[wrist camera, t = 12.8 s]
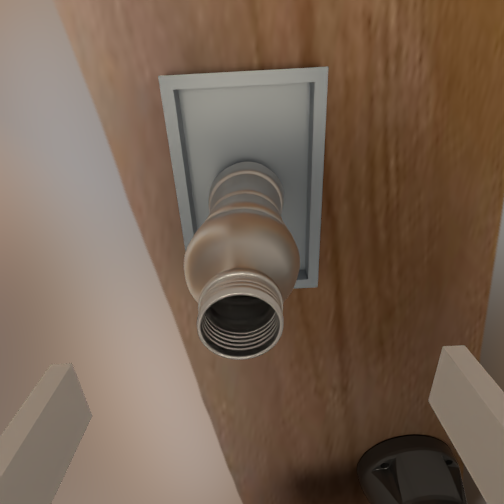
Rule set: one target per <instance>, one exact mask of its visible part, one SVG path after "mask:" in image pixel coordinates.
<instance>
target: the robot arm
mask: <svg viewBox="0 0 504 504" xmlns="http://www.w3.org/2000/svg"><path fill="white" fill-rule="evenodd" d="M428 401H429V403H430V405H431V407H432V408H433V410H434V412H435V414H436V415H437V417H438V419H439V421H440V422H441V424H442V426H443V428H444V429H445V431H446V433H447V435H448V436H449V438H450V440H451V442H452V443H453V445H454V447H455V449H456V450H457V452H458V454H459V456H460V457H461V459H462V461H463V463H464V464H465V466H466V468H467V470H468V471H469V473H470V475H471V477H472V478H473V480H474V482H475V484H476V485H477V487H478V489H479V491H480V492H481V494H482V496H483V498H484V499H485V501H486V503H487V504H504V392H503V391H502V390H501V388H500V387H499V386H498V385H497V384H496V382H495V381H494V380H493V379H492V378H491V376H489V374H488V373H487V372H486V371H485V369H484V368H483V367H482V366H481V364H480V363H479V362H478V361H477V360H476V358H475V357H474V356H473V355H472V354H471V352H470V351H469V350H468V349H467V348H466V346H465V345H462V346H443V347H442V351H441V355H440V359H439V362H438V366H437V370H436V374H435V377H434V381H433V385H432V389H431V392H430V396H429V400H428ZM91 417H92V414H91V411H90V409H89V406H88V403H87V401H86V398H85V396H84V393H83V391H82V388H81V385H80V383H79V380H78V377H77V375H76V372H75V370H74V367H73V365H72V363H71V364H51V365H50V366H49V368H48V369H47V370H46V372H45V373H44V375H43V376H42V378H41V379H40V380H39V382H38V383H37V385H36V386H35V388H34V389H33V390H32V392H31V394H30V395H29V396H28V398H27V399H26V400H25V402H24V403H23V405H22V406H21V408H20V409H19V410H18V412H17V413H16V415H15V416H14V418H13V419H12V420H11V422H10V423H9V425H8V426H7V428H6V429H5V430H4V432H3V433H2V435H1V436H0V504H51V503H52V501H53V499H54V497H55V495H56V492H57V490H58V488H59V486H60V484H61V482H62V480H63V477H64V475H65V473H66V471H67V469H68V467H69V465H70V462H71V460H72V458H73V456H74V454H75V452H76V449H77V447H78V445H79V443H80V441H81V439H82V437H83V435H84V432H85V430H86V428H87V426H88V424H89V422H90V420H91ZM357 474H358V477H359V481H360V485H361V488H362V490H363V492H364V494H365V495H366V497H367V499H368V500H369V502H370V504H467V500H466V496H465V491H464V487H463V482H462V477H461V473H460V468H459V465H458V463H457V461H456V459H455V457H454V455H453V453H452V452H451V450H450V448H449V447H448V446H447V445H446V444H445V443H444V442H442V441H440V440H438V439H435V438H432V437H427V436H404V437H399V438H394V439H391V440H388V441H385V442H383V443H381V444H379V445H377V446H375V447H373V448H372V449H370V450H369V451H368V452H367V453H366V454H365V455H364V456H363V457H362V458H361V460H360V461H359V463H358V467H357Z"/></svg>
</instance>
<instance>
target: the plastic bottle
mask: <svg viewBox="0 0 504 504" xmlns="http://www.w3.org/2000/svg"><path fill="white" fill-rule="evenodd" d="M208 201H209V212H210V213H209V216H208V217H207V219H206V221H205V222H204V223H203V224H202V225H201V227H200V228H199V229H198V230H197V231H196V233H195V234H194V236H193V238H192V240H191V241H190V243H189V245H188V247H187V250H186V253H185V256H184V272H185V278H186V283H187V286H188V288H189V291H190V293H191V294H192V296H193V297H194V299H195V300H196V301H197V302H198V317H197V331H198V335H199V338H200V340H201V341H202V343H203V344H204V346H206V347H207V348H208V349H209V350H210V351H212V352H213V353H215V354H217V355H219V356H221V357H224V358H229V359H237V360H240V359H249V358H254V357H257V356H260V355H262V354H264V353H266V352H267V351H269V350H270V349H271V348H272V347H274V346H275V344H276V343H277V342H278V341H279V339H280V337H281V335H282V331H283V313H282V312H283V302H284V301H285V300H286V299H287V298H288V296H289V295H290V294H291V292H292V290H293V288H294V286H295V283H296V280H297V277H298V273H299V269H300V256H299V251H298V248H297V245H296V243H295V241H294V238H293V236H292V234H291V232H290V231H289V230H288V228H287V227H286V225H285V224H284V222H283V220H282V217H281V213H282V208H283V203H284V192H283V187H282V185H281V182H280V180H279V179H278V177H277V176H276V175H275V174H274V173H273V172H272V171H271V170H270V169H268V168H267V167H265V166H263V165H262V164H259V163H256V162H240V163H236V164H234V165H232V166H230V167H228V168H226V169H225V170H223V171H222V172H221V173H220V174H219V175H218V176H217V177H216V178H215V180H214V182H213V183H212V185H211V188H210V191H209V199H208Z"/></svg>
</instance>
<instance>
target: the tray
mask: <svg viewBox="0 0 504 504" xmlns="http://www.w3.org/2000/svg"><path fill="white" fill-rule="evenodd" d="M158 78H159V85H160V91H161V98H162V104H163V110H164V117H165V123H166V130H167V136H168V142H169V149H170V155H171V162H172V168H173V174H174V181H175V187H176V194H177V200H178V206H179V213H180V219H181V226H182V232H183V238H184V245H185V251H186V250H187V247H188V245H189V243H190V241H191V240H192V238H193V236H194V234H195V233H196V231H197V230H198V229H199V228H200V227H201V225H202V224H203V223H204V222H205V221H206V219H207V217H208V216H209V213H210V212H209V201H208V199H209V191H210V188H211V185H212V183H213V182H214V180H215V178H216V177H217V176H218V175H219V174H220V173H221V172H222V171H223V170H225V169H226V168H228V167H230V166H232V165H234V164H236V163H240V162H256V163H259V164H262V165H263V166H265V167H267V168H268V169H270V170H271V171H272V172H273V173H274V174H275V175H276V176H277V177H278V179H279V180H280V182H281V185H282V187H283V192H284V203H283V208H282V213H281V217H282V220H283V222H284V224H285V225H286V227H287V228H288V230H289V231H290V232H291V234H292V236H293V238H294V241H295V243H296V245H297V248H298V251H299V256H300V269H299V273H298V277H297V280H296V283H295V286H294V288H312V287H318V268H319V248H320V228H321V208H322V187H323V167H324V147H325V126H326V106H327V86H328V67H313V68H294V69H276V70H257V71H239V72H221V73H202V74H184V75H166V76H158Z"/></svg>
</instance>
